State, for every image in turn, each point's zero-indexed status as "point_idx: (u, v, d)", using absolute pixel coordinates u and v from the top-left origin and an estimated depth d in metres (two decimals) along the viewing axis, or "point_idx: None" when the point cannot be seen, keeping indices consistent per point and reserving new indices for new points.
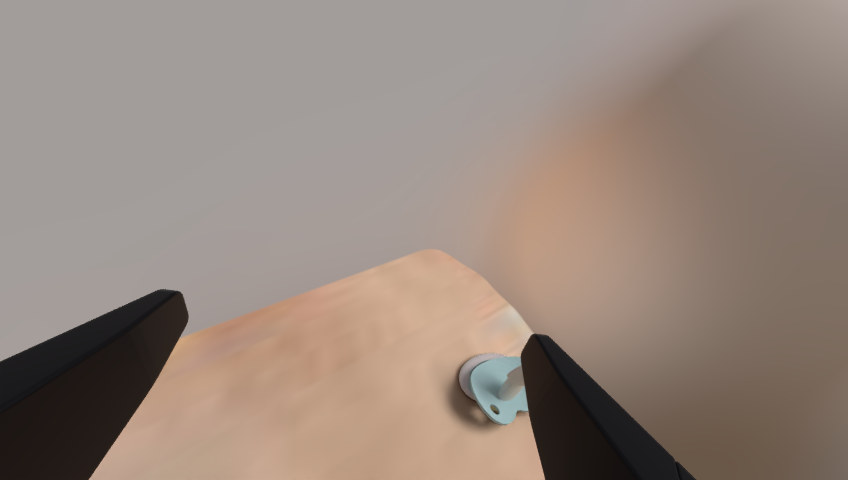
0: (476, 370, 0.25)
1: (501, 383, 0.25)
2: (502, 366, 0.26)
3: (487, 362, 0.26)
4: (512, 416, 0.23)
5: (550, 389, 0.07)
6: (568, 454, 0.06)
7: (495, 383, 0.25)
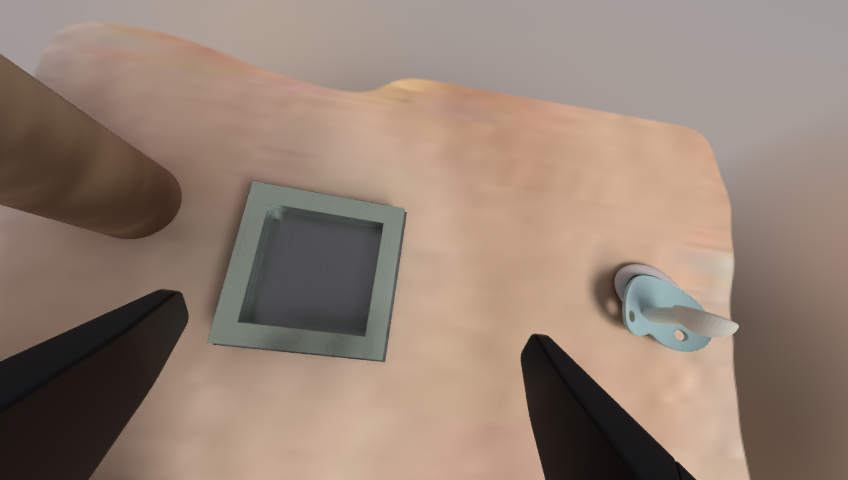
0: (643, 277, 0.23)
1: (655, 304, 0.23)
2: (670, 294, 0.24)
3: (659, 280, 0.24)
4: (641, 332, 0.23)
5: (550, 389, 0.07)
6: (568, 454, 0.06)
7: (649, 300, 0.23)
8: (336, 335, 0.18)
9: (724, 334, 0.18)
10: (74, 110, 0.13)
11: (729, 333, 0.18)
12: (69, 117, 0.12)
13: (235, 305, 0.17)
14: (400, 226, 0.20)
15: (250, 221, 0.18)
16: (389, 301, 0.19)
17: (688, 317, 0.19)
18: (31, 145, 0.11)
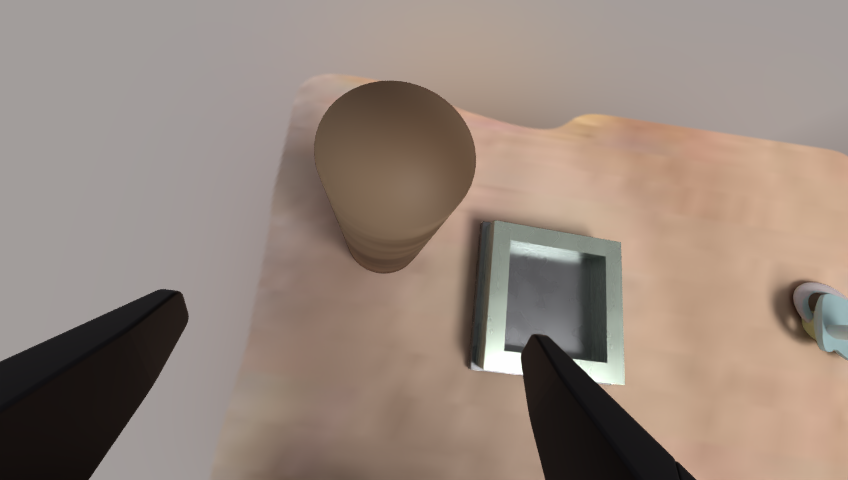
0: (827, 296, 0.24)
1: (836, 321, 0.25)
2: None
3: (839, 298, 0.25)
4: (829, 348, 0.24)
5: (550, 389, 0.07)
6: (568, 454, 0.06)
7: (831, 317, 0.25)
8: (584, 362, 0.19)
9: None
10: None
11: None
12: None
13: (500, 335, 0.19)
14: (620, 259, 0.21)
15: (499, 257, 0.20)
16: (621, 329, 0.20)
17: None
18: None
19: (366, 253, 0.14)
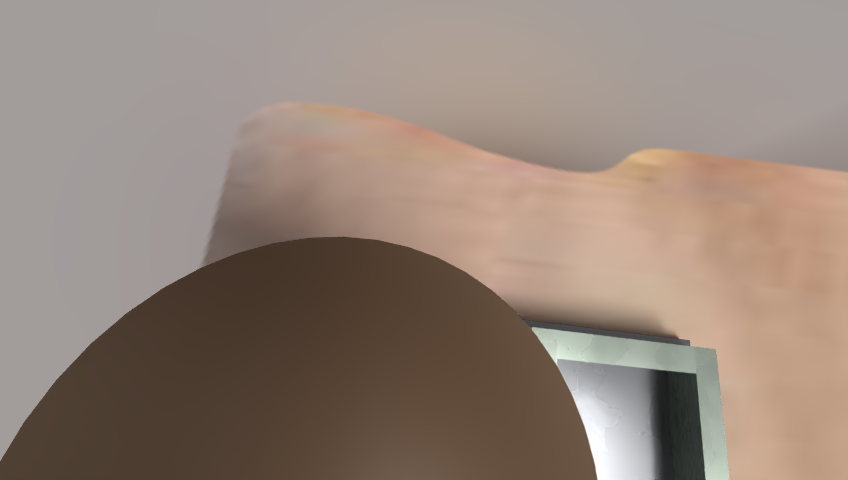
0: None
1: None
2: None
3: None
4: None
5: None
6: None
7: None
8: None
9: None
10: None
11: None
12: None
13: None
14: (716, 376, 0.14)
15: None
16: None
17: None
18: None
19: None
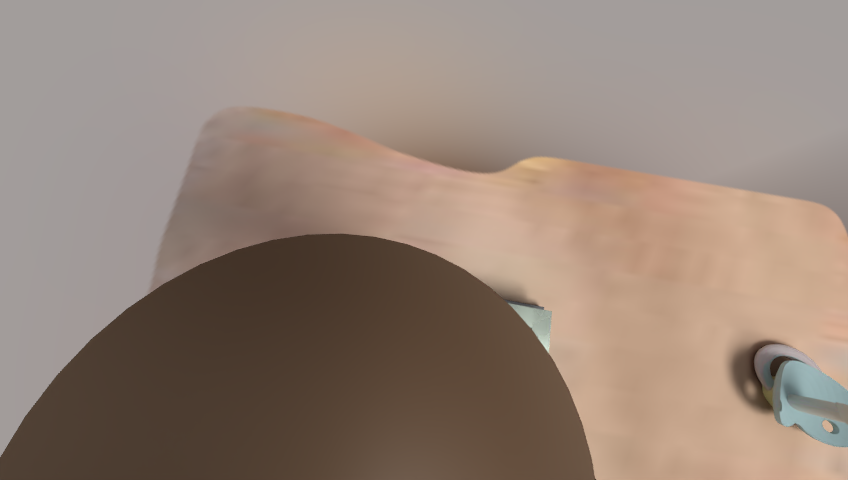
0: (790, 363, 0.22)
1: (799, 391, 0.22)
2: (816, 380, 0.22)
3: (805, 365, 0.22)
4: (789, 422, 0.21)
5: None
6: None
7: (794, 386, 0.22)
8: None
9: None
10: None
11: None
12: None
13: None
14: (548, 331, 0.19)
15: None
16: None
17: None
18: None
19: None
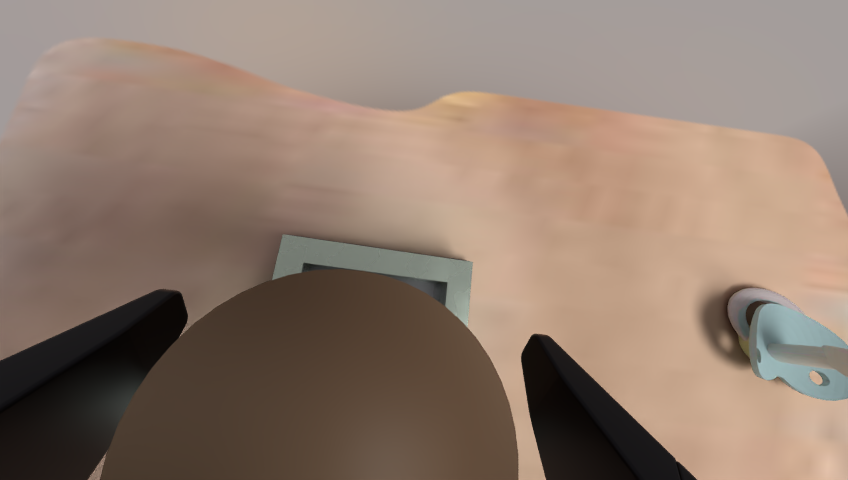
0: (768, 306, 0.19)
1: (781, 339, 0.19)
2: (800, 326, 0.19)
3: (785, 308, 0.19)
4: (770, 375, 0.18)
5: (551, 389, 0.07)
6: (569, 454, 0.06)
7: (774, 333, 0.19)
8: None
9: None
10: None
11: None
12: None
13: None
14: (468, 285, 0.15)
15: None
16: None
17: None
18: None
19: None
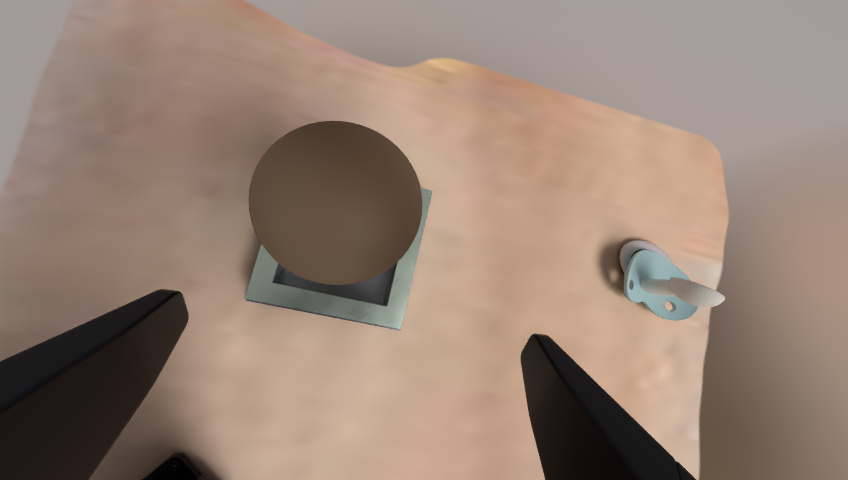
0: (646, 252, 0.25)
1: (652, 277, 0.26)
2: (666, 270, 0.26)
3: (659, 256, 0.26)
4: (637, 300, 0.25)
5: (550, 389, 0.07)
6: (568, 454, 0.06)
7: (648, 273, 0.26)
8: (361, 303, 0.19)
9: (711, 304, 0.21)
10: None
11: (716, 303, 0.21)
12: None
13: (270, 267, 0.18)
14: (426, 207, 0.21)
15: None
16: (411, 277, 0.20)
17: (683, 287, 0.22)
18: None
19: None
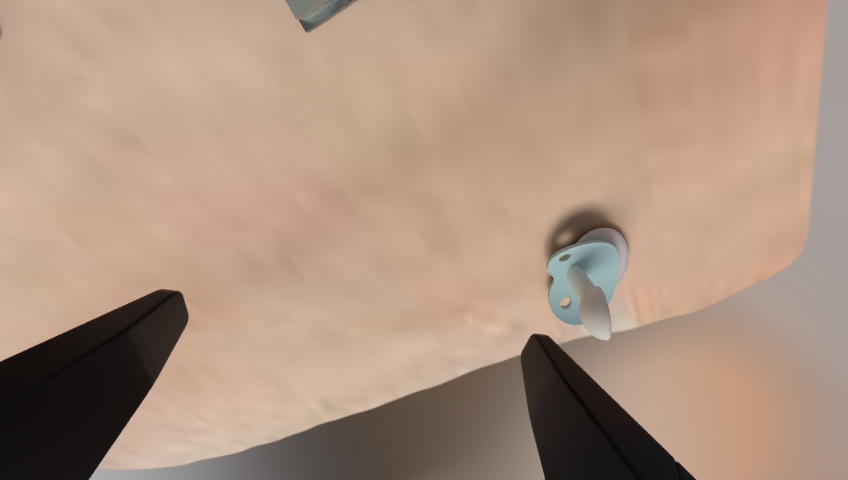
0: (613, 252, 0.20)
1: (586, 273, 0.22)
2: (604, 281, 0.22)
3: (616, 267, 0.21)
4: (551, 272, 0.21)
5: (550, 389, 0.07)
6: (568, 454, 0.06)
7: (589, 267, 0.21)
8: None
9: (592, 331, 0.18)
10: None
11: (596, 335, 0.18)
12: None
13: None
14: None
15: None
16: None
17: (594, 300, 0.18)
18: None
19: None
